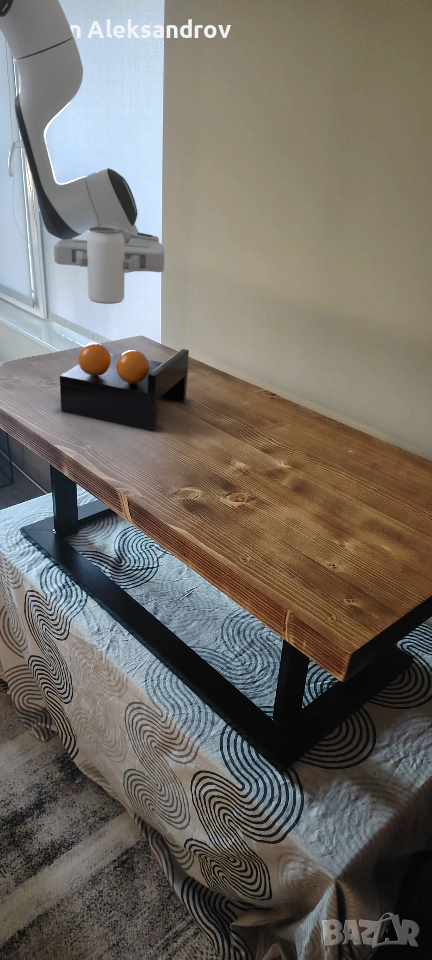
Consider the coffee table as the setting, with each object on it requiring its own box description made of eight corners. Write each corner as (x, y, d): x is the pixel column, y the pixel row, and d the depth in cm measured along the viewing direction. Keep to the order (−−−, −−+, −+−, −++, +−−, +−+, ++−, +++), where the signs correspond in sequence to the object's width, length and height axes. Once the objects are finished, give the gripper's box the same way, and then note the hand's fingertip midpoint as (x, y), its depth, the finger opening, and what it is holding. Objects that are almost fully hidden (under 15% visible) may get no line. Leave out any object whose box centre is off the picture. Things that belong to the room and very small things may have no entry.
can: (131, 300, 115) (132, 231, 109) (107, 306, 110) (107, 234, 104) (105, 293, 118) (104, 225, 112) (80, 298, 113) (78, 228, 107)
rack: (61, 411, 100) (57, 344, 94) (102, 383, 111) (101, 322, 106) (153, 431, 96) (156, 362, 90) (185, 400, 107) (189, 338, 102)
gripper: (59, 228, 120) (45, 240, 108) (166, 237, 121) (163, 249, 109) (61, 262, 123) (46, 277, 111) (165, 270, 124) (162, 286, 112)
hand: (105, 263), depth 110 cm, fingers closed on can, 6 cm apart
